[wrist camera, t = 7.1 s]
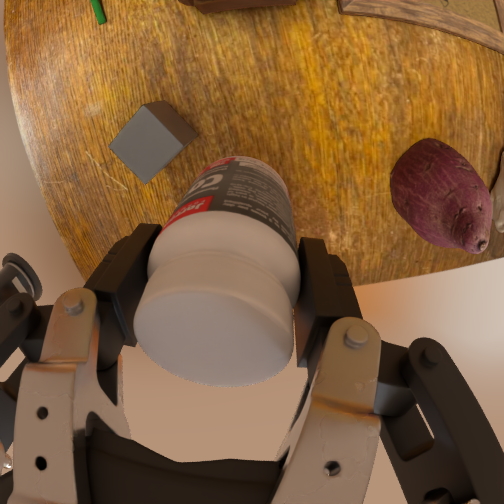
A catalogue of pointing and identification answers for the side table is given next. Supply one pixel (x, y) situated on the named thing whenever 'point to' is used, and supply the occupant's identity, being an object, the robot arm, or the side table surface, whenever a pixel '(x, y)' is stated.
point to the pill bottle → (224, 279)
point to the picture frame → (440, 16)
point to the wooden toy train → (232, 4)
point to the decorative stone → (498, 199)
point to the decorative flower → (98, 11)
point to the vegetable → (442, 197)
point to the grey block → (152, 139)
